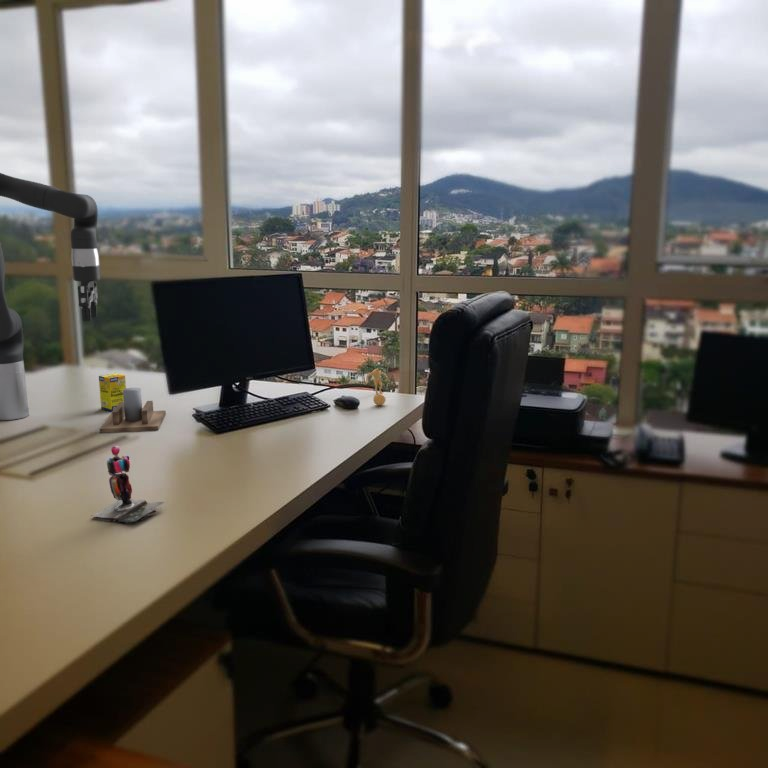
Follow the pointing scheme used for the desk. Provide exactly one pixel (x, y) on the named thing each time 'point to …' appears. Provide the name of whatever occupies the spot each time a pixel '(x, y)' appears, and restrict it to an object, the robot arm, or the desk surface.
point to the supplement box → (111, 390)
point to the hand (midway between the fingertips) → (90, 319)
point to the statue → (123, 494)
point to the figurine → (379, 397)
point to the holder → (119, 424)
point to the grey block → (132, 404)
